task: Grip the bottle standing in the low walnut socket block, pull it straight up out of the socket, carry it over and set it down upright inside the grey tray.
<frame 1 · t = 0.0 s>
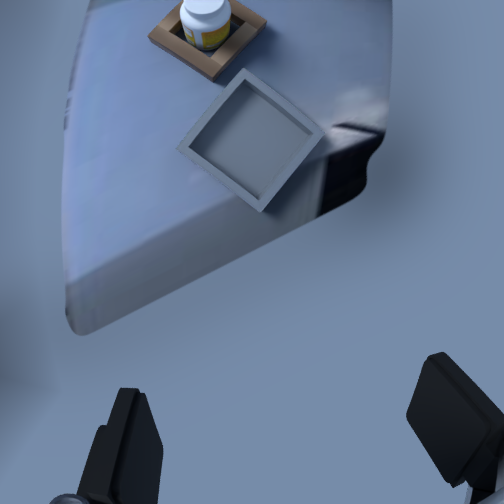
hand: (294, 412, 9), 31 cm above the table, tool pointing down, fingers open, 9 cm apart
tray: (249, 140, 36), on the table
socket block: (207, 32, 31), on the table
supplement bottle: (207, 33, 31), resting in socket block
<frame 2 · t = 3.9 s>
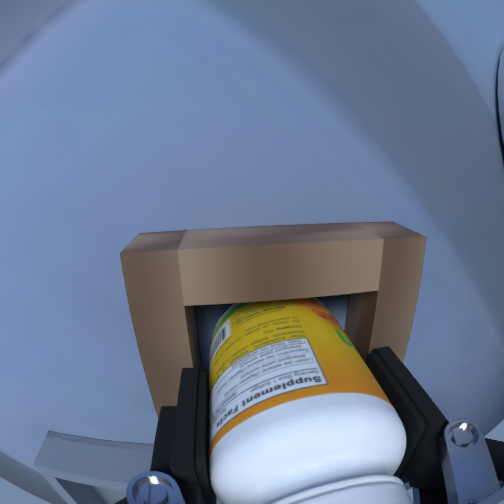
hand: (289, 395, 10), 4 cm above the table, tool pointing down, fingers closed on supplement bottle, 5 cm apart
tray: (156, 490, 16), on the table
socket block: (274, 341, 13), on the table
supplement bottle: (273, 338, 13), resting in socket block, touching gripper
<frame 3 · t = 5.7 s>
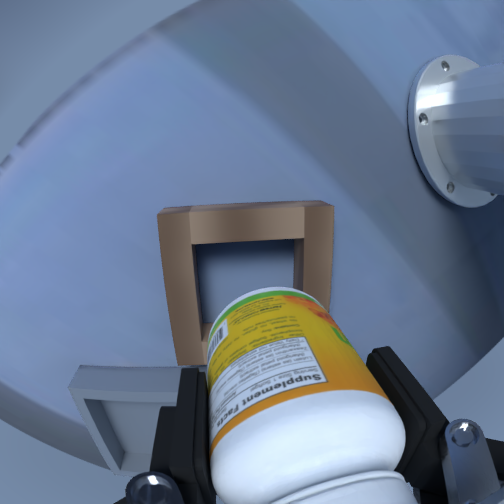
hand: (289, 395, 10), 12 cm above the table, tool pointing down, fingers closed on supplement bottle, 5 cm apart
tray: (161, 418, 24), on the table
socket block: (246, 278, 21), on the table
supplement bottle: (269, 338, 13), point 8 cm above the table, touching gripper
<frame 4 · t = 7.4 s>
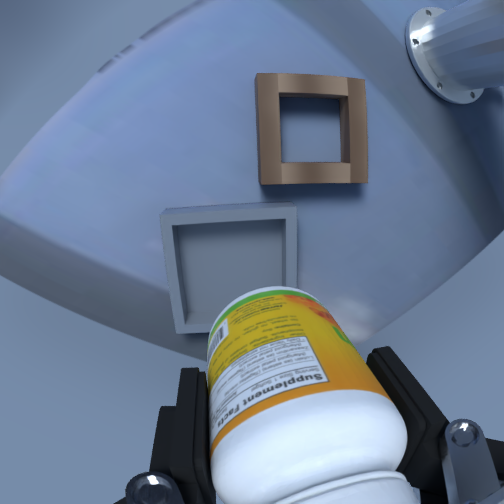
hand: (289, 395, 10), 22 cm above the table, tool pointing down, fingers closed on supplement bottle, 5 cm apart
tray: (231, 263, 32), on the table
socket block: (309, 129, 28), on the table
supplement bottle: (270, 337, 13), point 18 cm above the table, touching gripper
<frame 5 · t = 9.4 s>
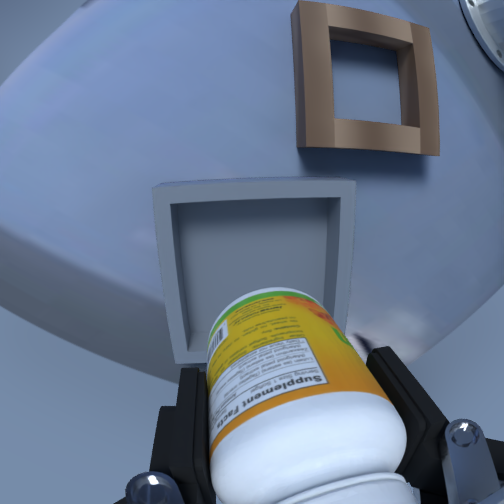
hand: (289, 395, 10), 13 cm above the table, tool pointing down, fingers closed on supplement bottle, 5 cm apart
tray: (254, 264, 22), on the table
socket block: (362, 82, 19), on the table
supplement bottle: (269, 338, 13), point 9 cm above the table, touching gripper
when the fingers open (5 cm above the table, at t = 11.3 s): supplement bottle drops 1 cm, resting on tray.
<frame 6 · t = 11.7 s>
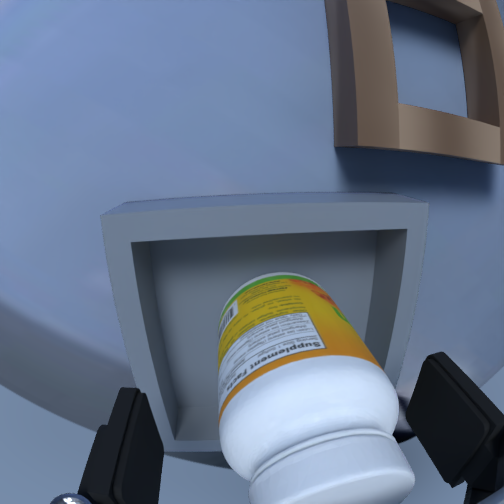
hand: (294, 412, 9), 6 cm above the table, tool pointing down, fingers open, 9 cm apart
tray: (268, 321, 15), on the table
socket block: (420, 59, 12), on the table
supplement bottle: (276, 321, 14), resting on tray
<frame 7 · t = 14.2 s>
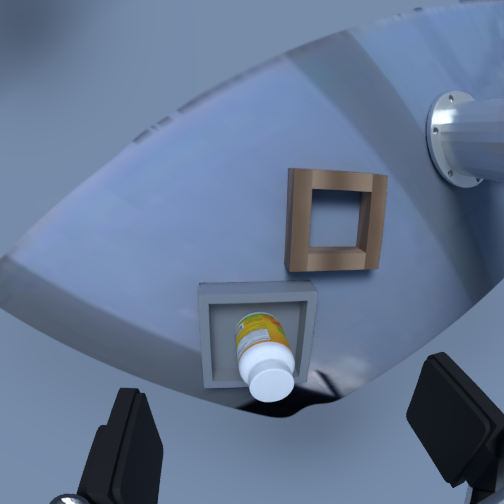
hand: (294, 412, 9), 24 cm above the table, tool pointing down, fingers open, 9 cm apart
tray: (254, 330, 35), on the table
socket block: (332, 217, 33), on the table
supplement bottle: (257, 330, 35), resting on tray
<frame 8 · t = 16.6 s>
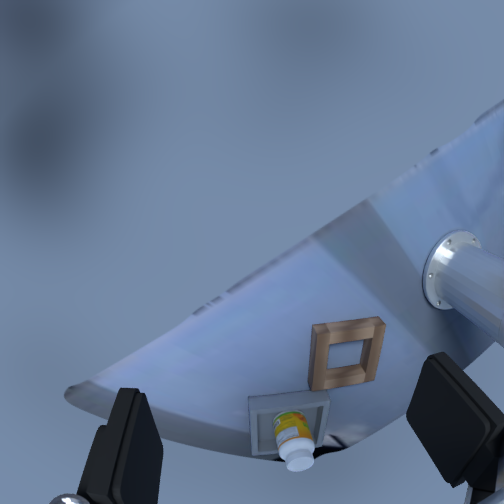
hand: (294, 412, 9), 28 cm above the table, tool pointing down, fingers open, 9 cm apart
tray: (286, 418, 46), on the table
socket block: (342, 350, 43), on the table
supplement bottle: (288, 418, 46), resting on tray
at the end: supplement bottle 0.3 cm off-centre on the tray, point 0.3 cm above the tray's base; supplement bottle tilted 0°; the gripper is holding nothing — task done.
